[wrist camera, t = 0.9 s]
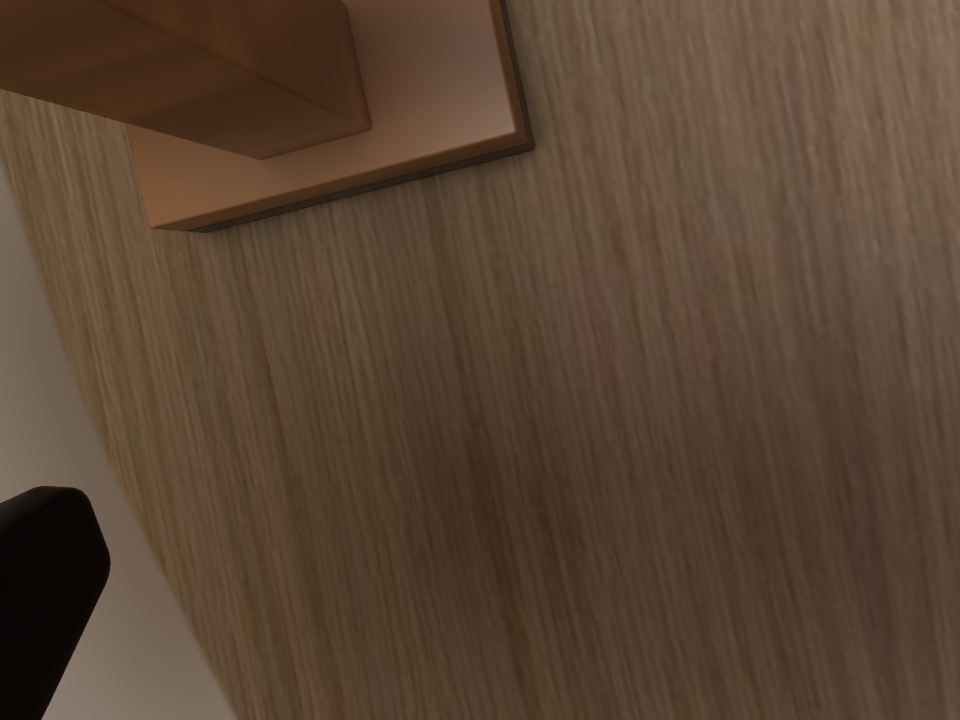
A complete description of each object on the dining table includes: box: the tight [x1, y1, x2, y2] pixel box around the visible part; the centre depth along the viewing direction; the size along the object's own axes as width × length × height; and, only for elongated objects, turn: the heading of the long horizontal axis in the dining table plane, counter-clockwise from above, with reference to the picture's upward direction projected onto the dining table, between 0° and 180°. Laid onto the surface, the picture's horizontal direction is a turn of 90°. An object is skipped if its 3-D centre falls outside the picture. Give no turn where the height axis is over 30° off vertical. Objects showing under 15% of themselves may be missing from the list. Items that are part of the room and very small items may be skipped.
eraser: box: [0, 0, 534, 233], centre depth 15 cm, size 4×9×13 cm, turn 102°
